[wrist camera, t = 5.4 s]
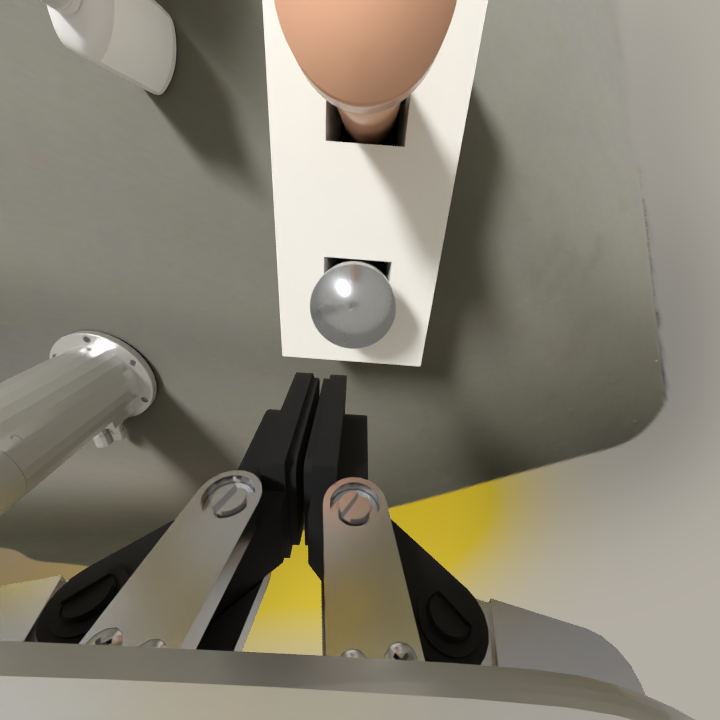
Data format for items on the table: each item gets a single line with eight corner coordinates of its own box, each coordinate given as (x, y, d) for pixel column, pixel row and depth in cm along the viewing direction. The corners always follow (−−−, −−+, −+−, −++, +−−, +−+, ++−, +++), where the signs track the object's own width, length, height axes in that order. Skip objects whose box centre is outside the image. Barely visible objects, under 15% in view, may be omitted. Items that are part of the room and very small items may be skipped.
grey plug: (383, 296, 33) (390, 351, 21) (333, 292, 33) (310, 345, 21) (389, 242, 31) (401, 269, 18) (334, 238, 31) (309, 261, 18)
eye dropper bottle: (199, 56, 25) (69, -56, 14) (155, 105, 26) (9, 38, 16) (156, -7, 23) (-26, -186, 13) (112, 49, 25) (-82, -67, 14)
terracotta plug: (402, 161, 23) (441, 108, 10) (328, 155, 23) (276, 95, 10) (414, 61, 20) (483, -173, 8) (330, 54, 20) (263, -190, 8)
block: (408, 325, 35) (420, 366, 26) (305, 317, 35) (282, 355, 26) (450, 42, 24) (497, -54, 15) (300, 30, 24) (258, -73, 15)
